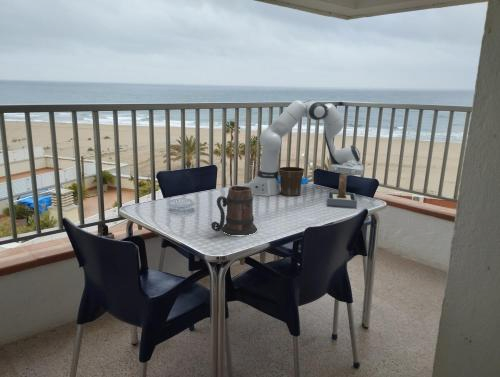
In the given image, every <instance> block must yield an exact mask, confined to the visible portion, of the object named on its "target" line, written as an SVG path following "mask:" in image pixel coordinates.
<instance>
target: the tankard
mask: <svg viewBox="0 0 500 377" xmlns="http://www.w3.org/2000/svg"><path fill="white" fill-rule="evenodd" d="M253 201H254V196H253V194H252V191H251V188H250V187H248V185H247V186H246V185H245V186H244V185H233V186H230V187H229V188H228V191H227V195H226V197H225V196H223V195H221V196H218V197H217V198H216V205H217V208H218V210H219V212H220V221H219V222H217V221H213V222H211V225H210V227H211V229H212V230H213V231H214V232H222V231H223V232H225V233H227V234H230V235H249V234H253V233H255V232H256V231H257V229H258V227H256V224H254V218H255V217H254V211H253V210H254V209H253V208H254V202H253ZM225 207H226V215H225V211H224V208H225ZM223 232H222V233H223ZM257 232H258V231H257ZM257 232H256V233H257ZM256 233H255V234H256ZM227 234H226V235H227ZM230 235H229V236H230ZM253 235H254V234H253Z"/></svg>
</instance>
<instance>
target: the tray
mask: <svg viewBox="0 0 500 377" xmlns="http://www.w3.org/2000/svg"><path fill="white" fill-rule="evenodd" d="M326 196H327V197H326V207H331V208H344V209H357V203H358V199H357V196H356V193H353V192H345V198H338V191H337V192H336V191H327V195H326Z"/></svg>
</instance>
